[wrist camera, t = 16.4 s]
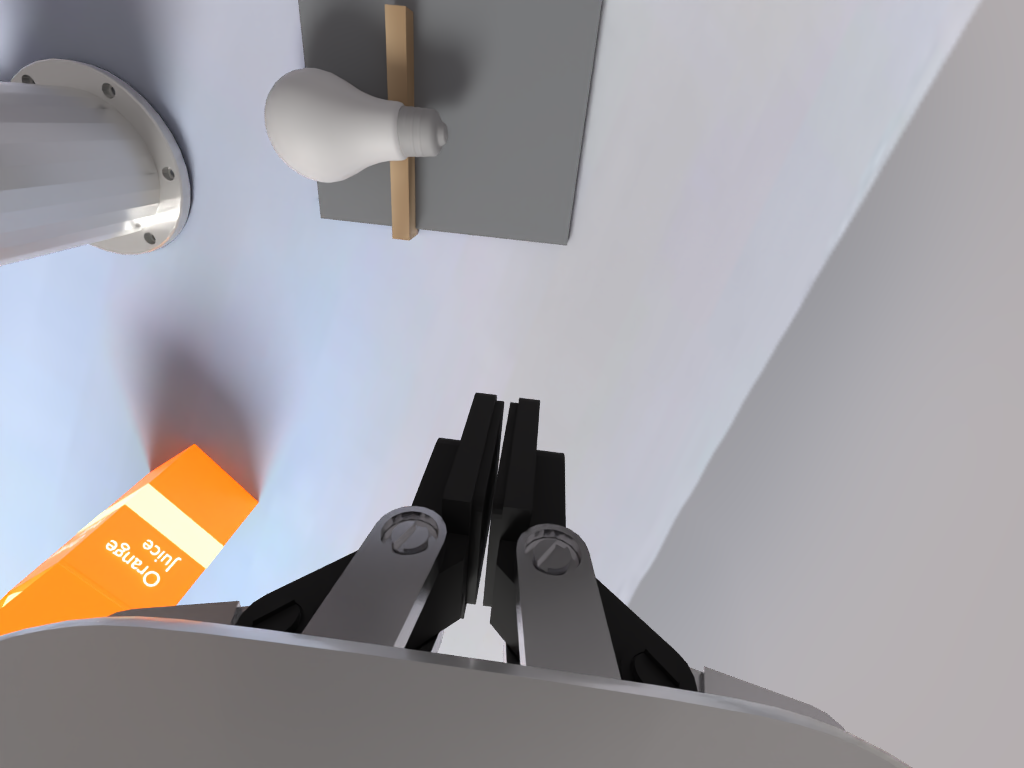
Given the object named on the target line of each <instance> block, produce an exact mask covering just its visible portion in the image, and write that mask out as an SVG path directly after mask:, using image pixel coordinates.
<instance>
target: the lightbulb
mask: <svg viewBox="0 0 1024 768" xmlns="http://www.w3.org/2000/svg"><path fill="white" fill-rule="evenodd" d="M265 125H266V130H267V134H268V137H269V139H270V141H271V144H272V146H273V148H274V149H275V151H276V153H277V154H278V155H279V157H280V158H281V159H282V160H283V161H284V162H285V163H286V164H287V165H288V166H289V167H290V168H291V169H293V170H294V171H295V172H297V173H298V174H300V175H302V176H304V177H306V178H308V179H311V180H315V181H319V182H325V183H332V182H337V181H342V180H345V179H347V178H349V177H351V176H353V175H355V174H357V173H359V172H360V171H362V170H363V169H365V168H367V167H369V166H372V165H374V164H377V163H380V162H386V161H401V160H405V159H406V158H407V157H429V156H437V155H438V154H439V153H440V151H441V149H442V146H443V145H444V144H446V143H447V141H448V128H447V125H446V124H445V123H444V122H442V120H441V117H440V115H439V113H438V112H437V111H436V110H435V109H428V108H420V107H412V106H404V104H403V103H401V102H398V101H390V100H384V99H380V98H376V97H373V96H371V95H369V94H367V93H364V92H362V91H360V90H359V89H357V88H356V87H354V86H353V85H351V84H350V83H348V82H347V81H345V80H343V79H342V78H340V77H338V76H336V75H335V74H333V73H331V72H327V71H324V70H320V69H317V68H303V69H298V70H294V71H291V72H289V73H287V74H285V75H284V76H282V77H281V78H280V79H279V80H278V81H277V82H276V83H275V84H274V86H273V87H272V89H271V91H270V92H269V94H268V97H267V99H266V105H265Z"/></svg>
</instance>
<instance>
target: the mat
mask: <svg viewBox="0 0 1024 768" xmlns="http://www.w3.org/2000/svg"><path fill="white" fill-rule="evenodd" d="M298 3H299V12H300V22H301V31H302V41H303V51H304V60H305V68H317V69H320V70H324V71H327V72H331V73H333V74H335V75H336V76H338V77H340V78H342V79H343V80H345V81H347V82H348V83H350V84H351V85H353V86H354V87H356V88H357V89H359V90H360V91H362V92H364V93H367V94H369V95H371V96H373V97H376V98H380V99H384V100H388V86H387V56H386V27H385V4H388V5H399V6H406V7H407V8H409V9H410V10H411V11H412V12H413V31H414V107H420V108H428V109H435V110H436V111H437V112H438V113H439V115H440V117H441V120H442V122H444V123H445V124H446V125H447V128H448V141H447V143H446V144H444V145H443V146H442V149H441V151H440V153H439V154H438V155H437V156H429V157H415V224H416V229H423V230H432V231H441V232H450V233H459V234H468V235H477V236H486V237H495V238H504V239H513V240H522V241H531V242H541V243H550V244H559V245H567V242H568V235H569V228H570V221H571V214H572V207H573V200H574V193H575V186H576V179H577V172H578V165H579V158H580V151H581V144H582V137H583V130H584V123H585V117H586V110H587V103H588V96H589V89H590V82H591V75H592V68H593V61H594V54H595V47H596V40H597V33H598V26H599V19H600V12H601V5H602V0H298ZM317 185H318V195H319V204H320V214H321V218H324V219H333V220H342V221H351V222H360V223H369V224H378V225H387V226H392V205H391V175H390V161H386V162H380V163H377V164H374V165H372V166H369V167H367V168H365V169H363V170H362V171H360V172H359V173H357V174H355V175H353V176H351V177H349V178H347V179H345V180H342V181H337V182H332V183H325V182H319V181H317Z"/></svg>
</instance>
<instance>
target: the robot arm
mask: <svg viewBox="0 0 1024 768" xmlns="http://www.w3.org/2000/svg"><path fill="white" fill-rule="evenodd" d="M189 208H190V183H189V178H188V172H187V168H186V165H185V162H184V159H183V157H182V154H181V151H180V149H179V147H178V145H177V143H176V141H175V139H174V137H173V135H172V133H171V132H170V130H169V129H168V127H167V126H166V124H165V123H164V121H163V120H162V119H161V117H160V116H159V114H158V113H157V112H156V111H155V110H154V109H153V107H152V106H151V105H150V104H149V103H148V102H147V101H146V100H145V99H144V98H143V97H142V96H141V95H140V94H139V93H138V92H136V91H135V90H134V89H133V88H132V87H131V86H129V85H128V84H127V83H126V82H124V81H122V80H121V79H119V78H118V77H116V76H114V75H113V74H111V73H110V72H108V71H105V70H103V69H101V68H98V67H96V66H94V65H91V64H88V63H83V62H78V61H73V60H64V59H54V58H52V59H45V60H39V61H35V62H33V63H31V64H29V65H27V66H25V67H23V68H22V69H21V70H20V71H19V72H18V73H17V74H15V75H14V76H13V77H12V79H11V81H10V82H1V81H0V266H3V265H7V264H11V263H15V262H19V261H23V260H27V259H31V258H35V257H39V256H43V255H47V254H51V253H55V252H59V251H63V250H67V249H71V248H75V247H79V246H83V245H87V244H90V245H92V246H94V247H97V248H99V249H102V250H105V251H108V252H112V253H117V254H122V255H138V254H143V253H148V252H151V251H154V250H157V249H160V248H163V247H164V246H166V245H167V244H169V243H170V242H172V241H173V240H174V239H175V238H176V237H177V236H178V234H179V233H180V232H181V231H182V229H183V227H184V225H185V223H186V220H187V218H188V213H189ZM539 408H540V400H533V399H525V398H519V403H512V402H511V403H510V408H509V414H508V419H507V425H506V430H505V436H504V442H503V447H502V453H501V458H500V464H499V470H498V463H499V452H500V442H501V431H502V420H503V410H504V401H497V395H492V394H484V393H476V394H475V396H474V399H473V403H472V406H471V409H470V412H469V415H468V418H467V422H466V425H465V428H464V431H463V434H462V437H461V440H453V439H445V438H439V439H438V440H437V442H436V445H435V447H434V450H433V452H432V455H431V457H430V460H429V462H428V465H427V468H426V470H425V473H424V475H423V478H422V480H421V483H420V486H419V488H418V491H417V493H416V496H415V498H414V501H413V503H412V506H408V507H401V508H398V509H395V510H392V511H391V512H389V513H387V514H386V515H384V516H383V517H382V518H381V519H380V520H379V521H378V522H377V523H376V525H375V526H374V528H373V529H372V531H371V532H370V533H369V535H368V536H367V538H366V539H365V541H364V542H363V544H362V545H361V547H360V548H359V550H358V551H356V552H354V553H351V554H349V555H347V556H345V557H343V558H341V559H339V560H337V561H335V562H333V563H331V564H329V565H327V566H325V567H322V568H320V569H318V570H316V571H314V572H312V573H310V574H308V575H306V576H304V577H302V578H300V579H298V580H296V581H293V582H291V583H289V584H287V585H285V586H283V587H281V588H279V589H277V590H275V591H273V592H271V593H269V594H267V595H265V596H263V597H262V598H260V599H258V600H257V601H255V602H253V603H252V604H251V605H250V606H245V607H241V606H240V603H239V601H233V602H219V603H205V604H192V605H178V606H165V607H151V608H137V609H129V610H125V611H120V612H116V613H114V614H111V615H109V616H107V617H96V618H86V619H75V620H66V621H61V622H56V623H51V624H46V625H41V626H36V627H31V628H26V629H22V630H19V631H15V632H12V633H8V634H4V635H1V636H0V768H912V767H910V766H909V765H907V764H906V763H904V762H902V761H901V760H899V759H898V758H896V757H894V756H893V755H891V754H889V753H888V752H886V751H884V750H882V749H880V748H878V747H876V746H874V745H872V744H870V743H868V742H866V741H864V740H862V739H860V738H858V737H857V736H855V735H852V734H851V733H849V732H846V731H845V730H844V728H843V727H842V726H841V725H840V724H839V723H837V722H836V721H835V720H834V719H832V717H830V716H829V715H828V714H827V713H825V712H823V711H821V710H819V709H817V708H815V707H813V706H811V705H809V704H806V703H803V702H800V701H797V700H795V699H792V698H789V697H787V696H784V695H781V694H778V693H776V692H773V691H770V690H767V689H765V688H762V687H759V686H757V685H754V684H751V683H748V682H746V681H743V680H740V679H737V678H735V677H732V676H729V675H726V674H724V673H721V672H718V671H715V670H713V669H710V668H707V667H704V668H703V670H702V672H701V671H698V670H695V669H692V668H690V667H689V666H688V664H687V663H686V662H685V661H684V659H683V658H682V657H681V656H680V655H679V654H678V653H677V652H676V651H675V650H674V649H673V648H672V647H671V646H670V645H669V644H668V643H667V642H665V641H664V640H663V639H662V638H661V637H660V636H659V635H658V634H657V633H656V632H654V631H653V630H652V629H651V628H650V627H649V626H648V625H647V624H646V623H645V622H644V621H642V620H641V619H640V618H639V617H638V616H637V615H636V614H635V613H634V612H632V610H630V609H629V608H628V607H627V606H626V605H625V604H624V603H623V602H622V601H621V600H619V599H618V598H617V597H616V596H615V595H614V594H613V593H612V592H611V591H610V590H609V589H607V588H606V587H605V586H604V585H603V584H602V583H601V582H600V581H599V580H598V579H597V578H596V577H595V574H594V570H593V566H592V562H591V558H590V554H589V551H588V548H587V546H586V544H585V542H584V541H583V540H582V539H581V538H580V536H579V535H577V534H576V533H575V532H573V531H572V530H570V529H568V528H566V515H565V456H564V453H556V452H548V451H540V450H536V449H537V436H538V422H539ZM497 473H498V475H497ZM490 520H491V523H490ZM489 526H490V534H489V545H488V556H487V567H486V578H485V589H484V600H483V606H490V607H492V608H491V617H490V624H491V625H492V626H493V627H494V629H495V630H496V631H497V632H498V633H499V635H500V636H501V637H502V638H503V640H504V646H503V660H504V663H503V662H496V661H489V660H482V659H475V658H468V657H461V656H454V655H447V654H440V653H437V652H438V650H439V647H440V644H441V642H442V638H443V633H444V629H445V628H447V627H448V626H450V625H451V624H453V623H454V622H456V621H457V620H459V619H460V618H462V619H464V614H465V609H466V604H467V603H469V604H476V599H477V594H478V588H479V582H480V577H481V571H482V565H483V560H484V554H485V548H486V543H487V537H488V531H489Z"/></svg>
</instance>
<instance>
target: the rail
mask: <svg viewBox="0 0 1024 768" xmlns="http://www.w3.org/2000/svg"><path fill="white" fill-rule="evenodd" d="M385 27H386V56H387V86H388V100H390V101H398V102H401V103H403V104H404V106H412V107H414V31H413V12H412V11H411V10H410V9H409V8H407V7H406V6H399V5H388V4H385ZM390 175H391V205H392V235H393V239H402V240H411V239H412V238H413V237H415V236H416V235H417V234H418V229H416V224H415V157H407V158H406V159H405V160H401V161H390Z"/></svg>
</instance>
